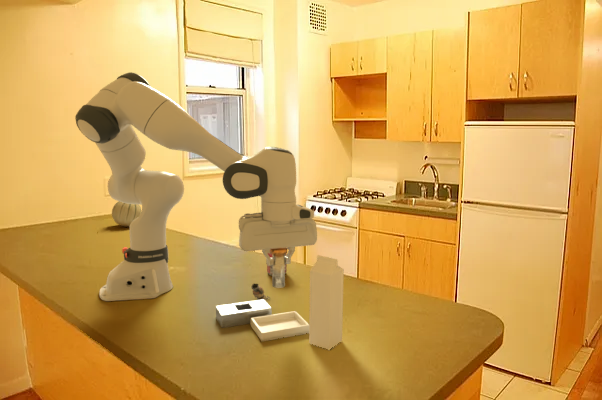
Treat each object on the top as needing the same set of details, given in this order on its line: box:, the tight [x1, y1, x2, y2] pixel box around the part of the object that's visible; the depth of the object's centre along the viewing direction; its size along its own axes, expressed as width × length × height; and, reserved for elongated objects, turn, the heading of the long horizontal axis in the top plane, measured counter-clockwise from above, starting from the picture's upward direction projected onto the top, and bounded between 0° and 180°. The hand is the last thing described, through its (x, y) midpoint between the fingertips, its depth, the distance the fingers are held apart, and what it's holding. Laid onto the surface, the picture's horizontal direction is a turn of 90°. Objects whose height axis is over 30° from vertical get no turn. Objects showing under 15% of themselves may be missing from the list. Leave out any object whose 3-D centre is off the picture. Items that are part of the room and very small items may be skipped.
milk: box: [308, 254, 344, 351], centre depth 113 cm, size 6×6×22 cm
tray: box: [250, 310, 309, 342], centre depth 122 cm, size 13×10×2 cm
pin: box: [270, 248, 288, 289], centre depth 119 cm, size 4×4×10 cm
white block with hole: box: [215, 299, 272, 329], centre depth 129 cm, size 14×7×4 cm, turn 113°
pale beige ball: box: [111, 201, 142, 228], centre depth 245 cm, size 15×15×15 cm
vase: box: [251, 283, 271, 301], centre depth 142 cm, size 5×5×6 cm
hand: (278, 264), depth 119 cm, fingers closed on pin, 3 cm apart
